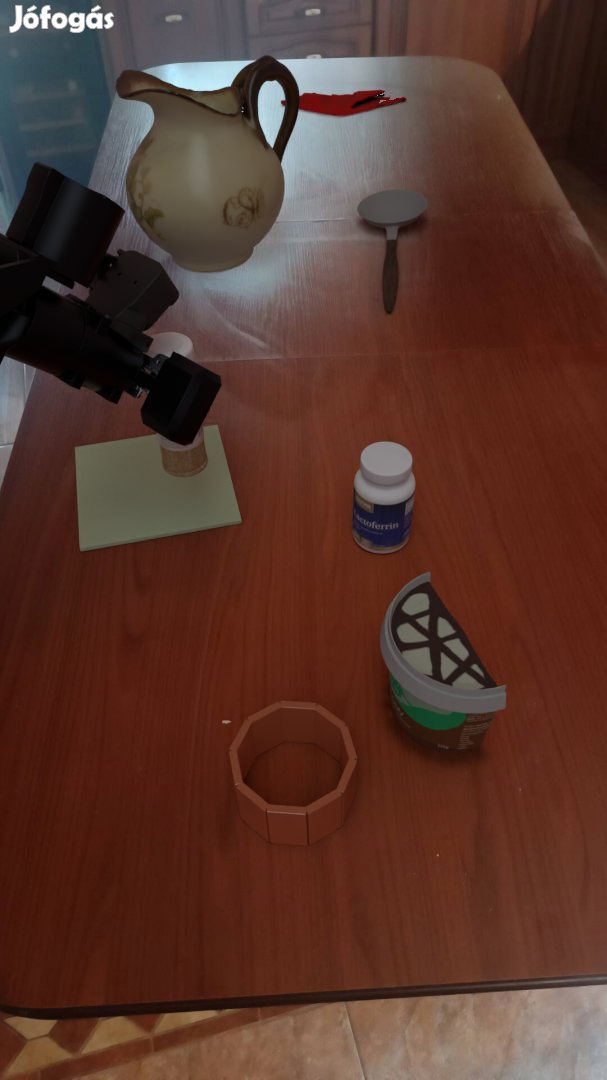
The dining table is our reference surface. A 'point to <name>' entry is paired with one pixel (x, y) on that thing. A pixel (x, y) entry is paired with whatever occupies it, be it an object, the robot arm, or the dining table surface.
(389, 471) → the pill bottle
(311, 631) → the dining table surface
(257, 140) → the pitcher
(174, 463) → the sprinkles bottle
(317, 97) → the cloth
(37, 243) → the robot arm
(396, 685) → the food container
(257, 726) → the brown hollow polygonal ring
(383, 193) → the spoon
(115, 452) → the placemat
